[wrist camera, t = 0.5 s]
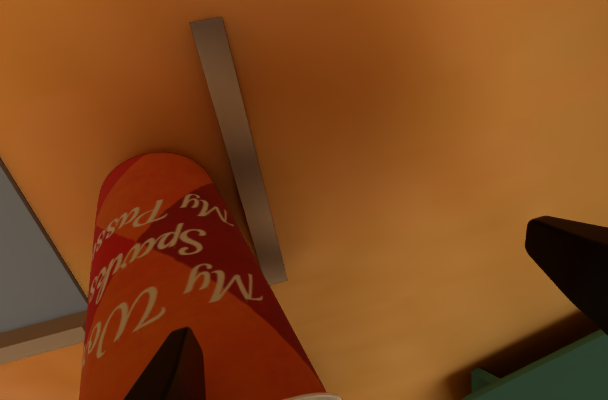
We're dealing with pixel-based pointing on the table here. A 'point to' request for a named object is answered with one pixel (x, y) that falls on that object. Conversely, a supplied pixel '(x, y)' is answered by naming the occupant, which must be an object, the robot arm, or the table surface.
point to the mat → (33, 283)
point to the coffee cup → (183, 289)
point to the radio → (552, 375)
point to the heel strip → (238, 142)
